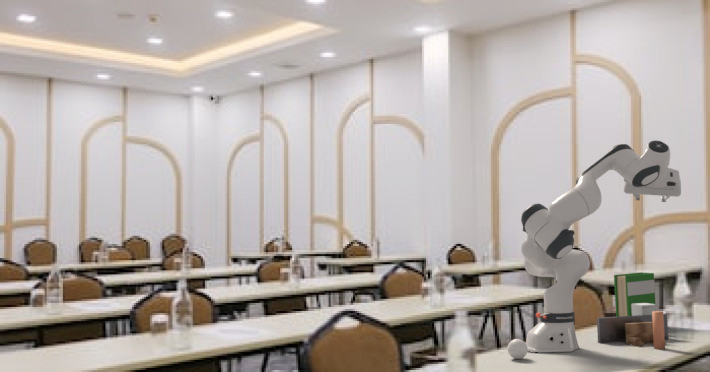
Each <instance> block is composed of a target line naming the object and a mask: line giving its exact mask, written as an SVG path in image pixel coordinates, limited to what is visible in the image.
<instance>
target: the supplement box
mask: <svg viewBox="0 0 710 372" xmlns="http://www.w3.org/2000/svg"><path fill="white" fill-rule="evenodd" d="M631 307H632V316H634V315H650V314H652V312H653V311H657V304H650V303H636V304H631Z"/></svg>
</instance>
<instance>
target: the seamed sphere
mask: <svg viewBox="0 0 710 372" xmlns="http://www.w3.org/2000/svg"><path fill="white" fill-rule="evenodd" d="M502 350H504V351H505V350H506V348H503V349H502ZM528 352H529V351H528V348H527V345H526V341H524V340H522V339H521V338H520V339H519V338H514V339H512V340H510V342H509V343H508V345H507V353H508V354H509V356H510V357H511V358H512V359H514V360H521V359H523V358H525V357H526V356H527V354H528Z"/></svg>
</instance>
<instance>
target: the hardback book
mask: <svg viewBox="0 0 710 372" xmlns="http://www.w3.org/2000/svg"><path fill="white" fill-rule="evenodd" d="M613 280H614V281H613V282H614V302H615V317H617V316H632V307H631V304H636V303H650V304H656V291H655V289H656V288H655V285H656V284H655V274H654V273H653V272H643V271H642V272H640V271H639V272H632V273H631V272H629V273H623V274H622V273H621V274H613ZM656 305H657V304H656Z"/></svg>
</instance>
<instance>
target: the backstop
mask: <svg viewBox="0 0 710 372" xmlns="http://www.w3.org/2000/svg"><path fill="white" fill-rule="evenodd" d="M663 318H664V336H665V340H668V339H669V326H668V314H667V313H663ZM640 322H652V314H650V315H634V316H617V317H616V316H603V317H602V316H601V317H596V329H597V330H596V331H597V343H599V344H606V343H607V344H608V343H610V344H611V343H622V342H623V343H624V342H625V343H626V332H625V323H640Z"/></svg>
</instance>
